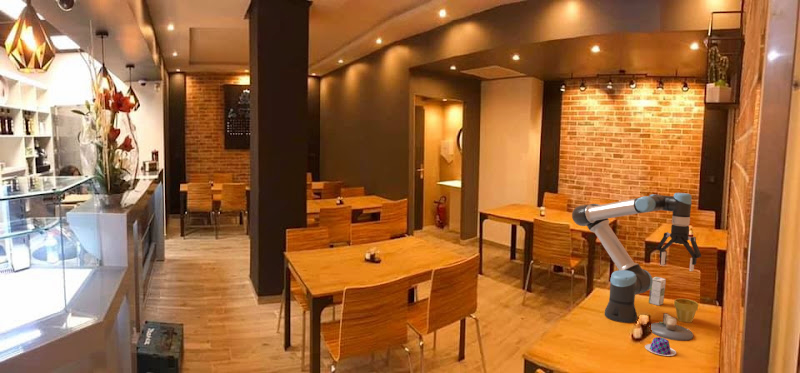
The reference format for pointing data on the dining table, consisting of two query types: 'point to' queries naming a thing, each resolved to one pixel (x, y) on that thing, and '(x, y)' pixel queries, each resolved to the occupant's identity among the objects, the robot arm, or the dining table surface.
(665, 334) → the flat grey disc
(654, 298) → the syrup box
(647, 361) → the dining table surface
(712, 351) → the dining table surface
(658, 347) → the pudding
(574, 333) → the dining table surface
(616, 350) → the dining table surface
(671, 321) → the tuning peg
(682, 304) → the plant pot
